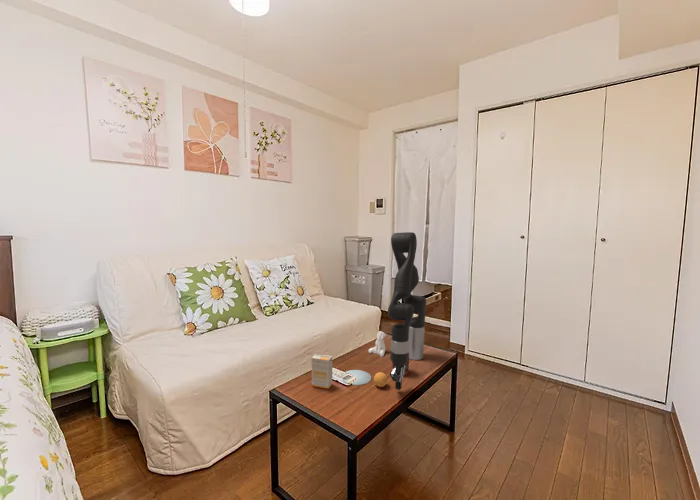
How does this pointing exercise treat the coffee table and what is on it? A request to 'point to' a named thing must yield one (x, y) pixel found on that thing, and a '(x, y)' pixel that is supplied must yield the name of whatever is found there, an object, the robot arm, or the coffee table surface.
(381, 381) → the ball
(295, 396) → the coffee table surface
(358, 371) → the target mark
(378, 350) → the seated beast figurine
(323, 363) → the supplement box
